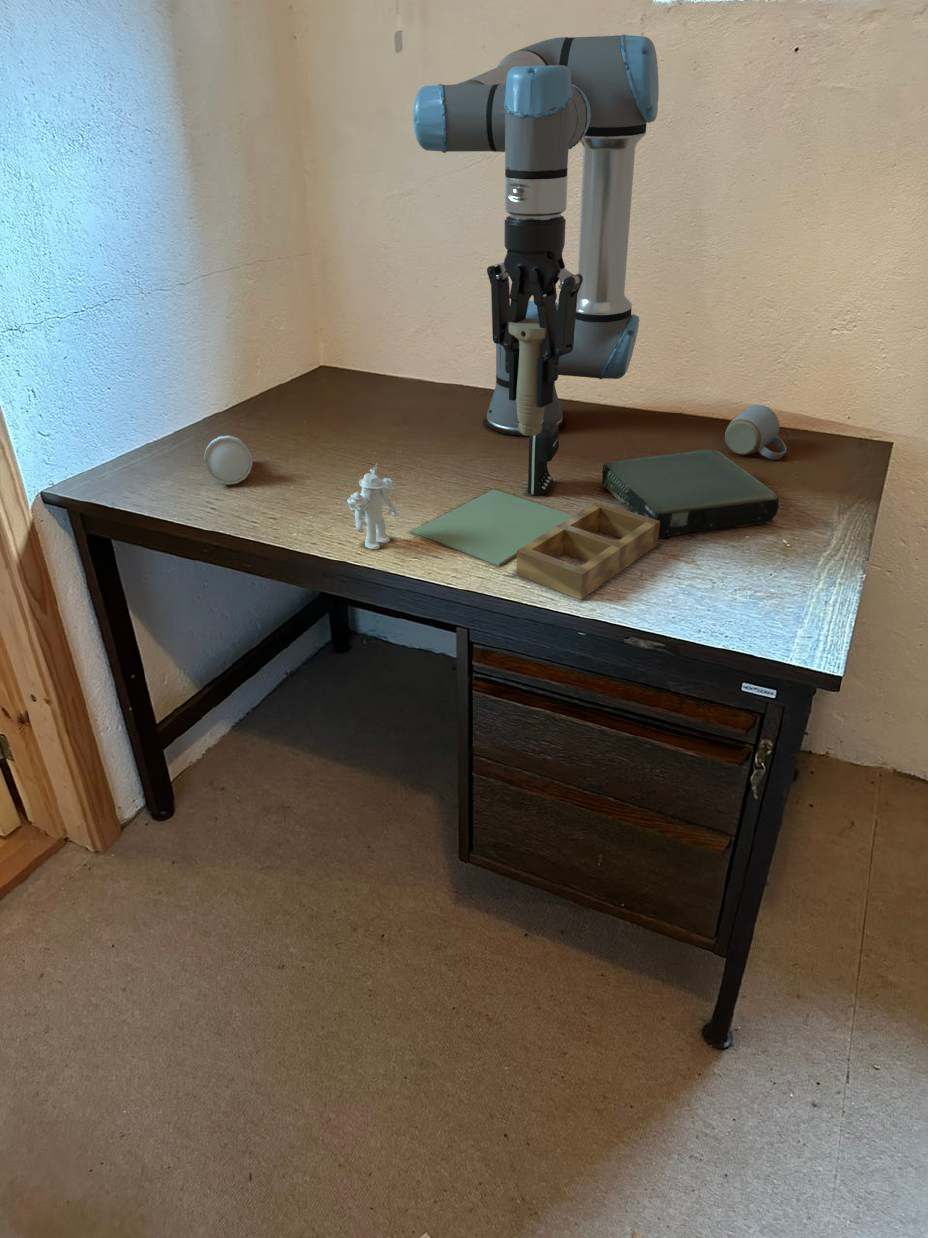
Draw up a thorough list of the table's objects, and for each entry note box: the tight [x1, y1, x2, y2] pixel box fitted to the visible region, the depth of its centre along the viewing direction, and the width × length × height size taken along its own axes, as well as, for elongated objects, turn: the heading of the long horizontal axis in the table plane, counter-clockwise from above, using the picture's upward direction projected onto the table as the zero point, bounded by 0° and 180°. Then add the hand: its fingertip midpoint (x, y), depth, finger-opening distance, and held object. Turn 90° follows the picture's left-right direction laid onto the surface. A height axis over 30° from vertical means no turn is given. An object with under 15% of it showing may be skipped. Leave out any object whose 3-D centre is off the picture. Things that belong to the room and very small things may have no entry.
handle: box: [509, 318, 555, 437], centre depth 116 cm, size 5×6×15 cm
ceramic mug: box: [724, 404, 788, 461], centre depth 156 cm, size 11×8×8 cm
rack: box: [515, 501, 660, 601], centre depth 124 cm, size 20×11×4 cm, turn 140°
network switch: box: [601, 448, 780, 539], centre depth 138 cm, size 23×24×5 cm
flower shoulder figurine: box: [346, 461, 398, 550], centre depth 127 cm, size 9×4×12 cm, turn 144°
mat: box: [412, 488, 575, 567], centre depth 134 cm, size 20×17×1 cm
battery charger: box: [527, 420, 560, 496], centre depth 143 cm, size 7×4×11 cm, turn 162°
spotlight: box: [203, 435, 253, 486], centre depth 152 cm, size 8×11×8 cm
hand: (530, 400), depth 118 cm, fingers closed on handle, 4 cm apart
